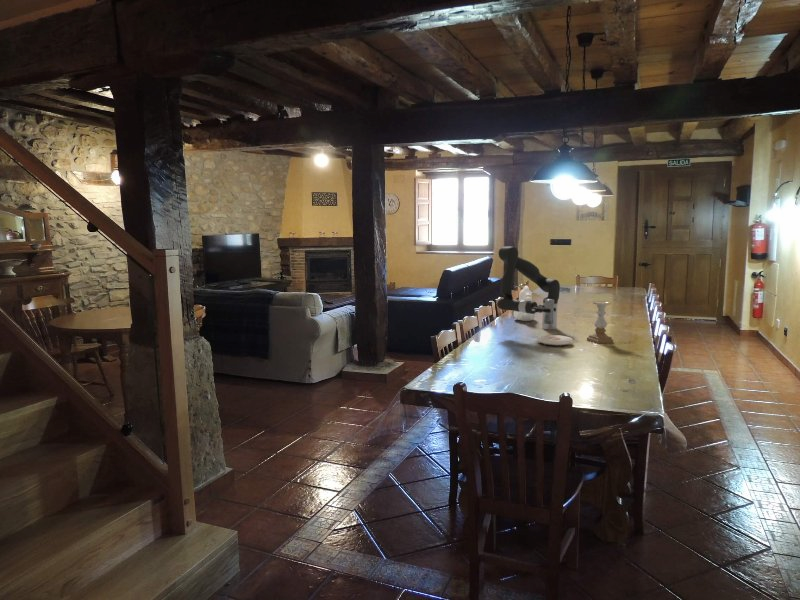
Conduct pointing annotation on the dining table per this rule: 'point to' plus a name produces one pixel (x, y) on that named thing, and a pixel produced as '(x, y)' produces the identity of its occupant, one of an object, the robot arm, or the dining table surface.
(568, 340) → the disc
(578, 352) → the dining table surface
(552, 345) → the turntable base
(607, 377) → the dining table surface
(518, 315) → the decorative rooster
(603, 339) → the candle holder
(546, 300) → the cup
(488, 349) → the dining table surface
